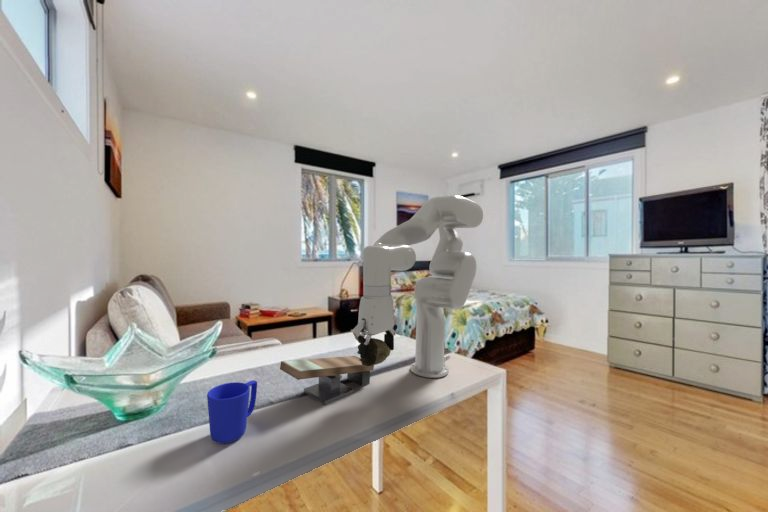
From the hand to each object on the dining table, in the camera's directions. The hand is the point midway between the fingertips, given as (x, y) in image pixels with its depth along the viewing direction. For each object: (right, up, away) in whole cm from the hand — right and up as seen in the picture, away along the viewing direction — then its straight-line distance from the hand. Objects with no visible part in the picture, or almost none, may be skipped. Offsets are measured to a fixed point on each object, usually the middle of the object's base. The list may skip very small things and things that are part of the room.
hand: (377, 353), depth 87 cm
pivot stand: (-11, -12, +5) cm, 17 cm away
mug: (-31, -12, -17) cm, 38 cm away
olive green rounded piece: (+3, 0, +3) cm, 4 cm away
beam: (-14, -6, +2) cm, 15 cm away
